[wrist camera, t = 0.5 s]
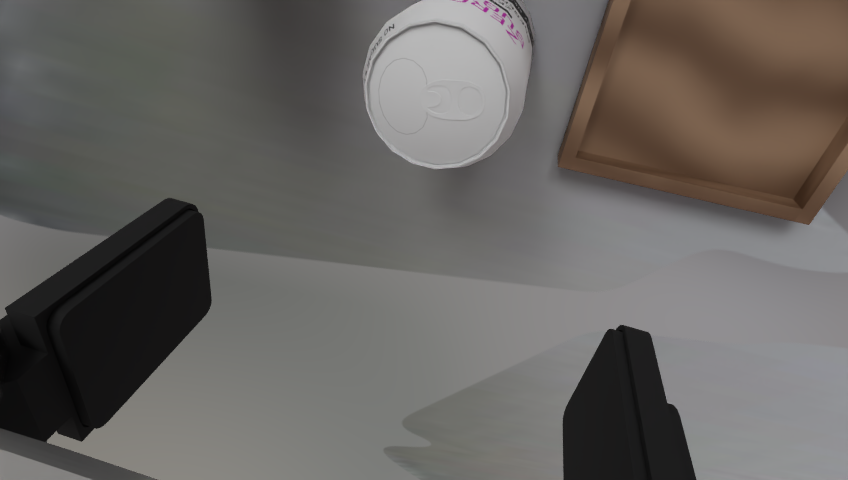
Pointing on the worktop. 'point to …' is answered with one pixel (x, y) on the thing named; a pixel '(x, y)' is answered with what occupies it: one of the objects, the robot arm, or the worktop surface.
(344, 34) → the worktop surface
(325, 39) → the worktop surface
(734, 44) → the tray
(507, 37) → the supplement can
